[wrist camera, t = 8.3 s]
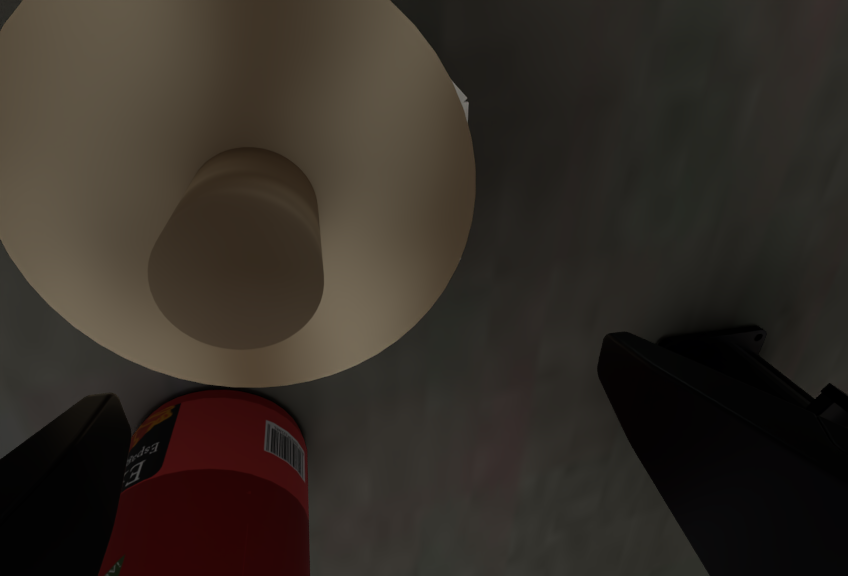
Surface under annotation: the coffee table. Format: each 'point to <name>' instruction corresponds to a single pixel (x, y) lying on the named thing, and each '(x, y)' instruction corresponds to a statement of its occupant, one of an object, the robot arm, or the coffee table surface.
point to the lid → (232, 179)
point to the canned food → (213, 492)
